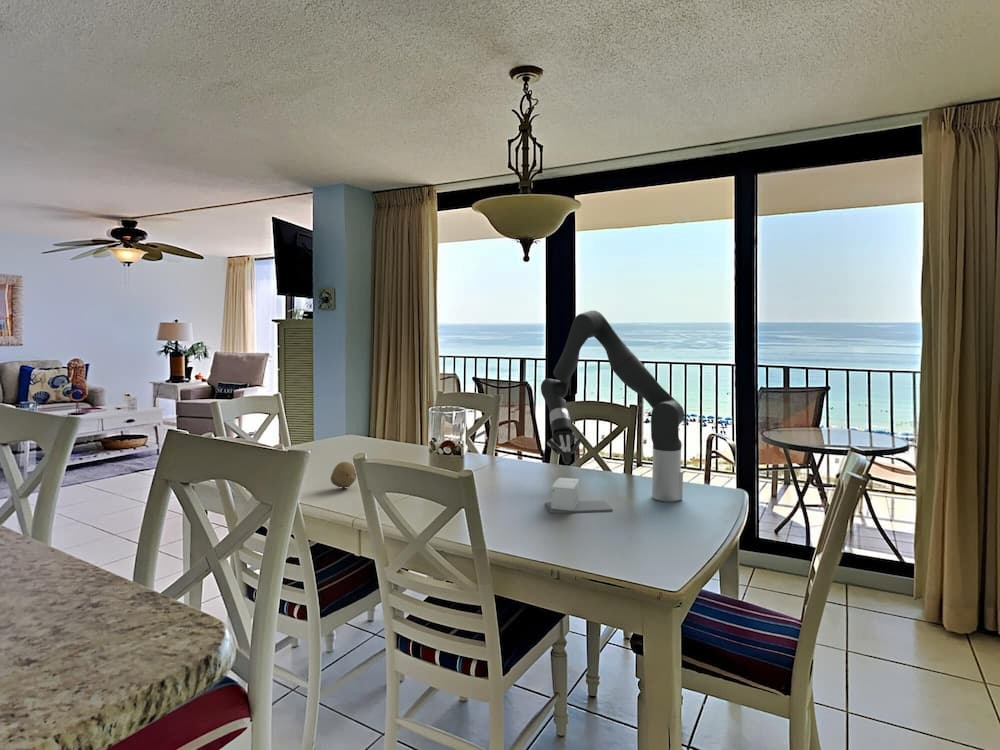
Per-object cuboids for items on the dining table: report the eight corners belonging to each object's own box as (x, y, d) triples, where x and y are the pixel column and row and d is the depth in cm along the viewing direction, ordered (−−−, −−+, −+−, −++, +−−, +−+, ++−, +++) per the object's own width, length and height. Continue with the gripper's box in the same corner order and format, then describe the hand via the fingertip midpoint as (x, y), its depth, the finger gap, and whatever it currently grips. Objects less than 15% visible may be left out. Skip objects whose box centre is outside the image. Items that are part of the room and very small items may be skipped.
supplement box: (557, 498, 203) (550, 509, 191) (558, 476, 203) (550, 486, 191) (579, 500, 201) (573, 511, 189) (580, 478, 201) (573, 488, 189)
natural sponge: (361, 490, 217) (360, 462, 216) (337, 494, 212) (336, 466, 212) (352, 484, 225) (351, 458, 224) (328, 488, 220) (327, 461, 219)
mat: (604, 501, 201) (604, 500, 201) (612, 511, 191) (612, 509, 191) (545, 504, 199) (545, 502, 199) (550, 513, 189) (550, 511, 189)
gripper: (544, 417, 220) (550, 457, 209) (579, 416, 221) (588, 456, 210) (541, 429, 225) (548, 469, 214) (576, 428, 227) (584, 467, 216)
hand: (567, 462), depth 212 cm, fingers closed
